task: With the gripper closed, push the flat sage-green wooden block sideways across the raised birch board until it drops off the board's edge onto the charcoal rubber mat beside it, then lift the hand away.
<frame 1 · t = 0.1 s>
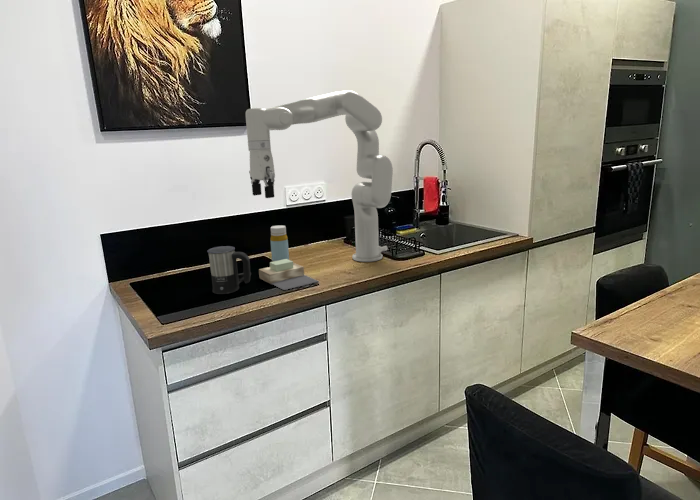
hand: (263, 196, 168), 31 cm above the countertop, tool pointing down, fingers open, 9 cm apart
milk frother: (232, 287, 172), on the countertop
rubber mat: (294, 283, 172), on the countertop
birch board: (281, 277, 180), on the countertop
bottle: (280, 262, 200), on the countertop
green block: (281, 265, 178), point 5 cm above the countertop, touching birch board
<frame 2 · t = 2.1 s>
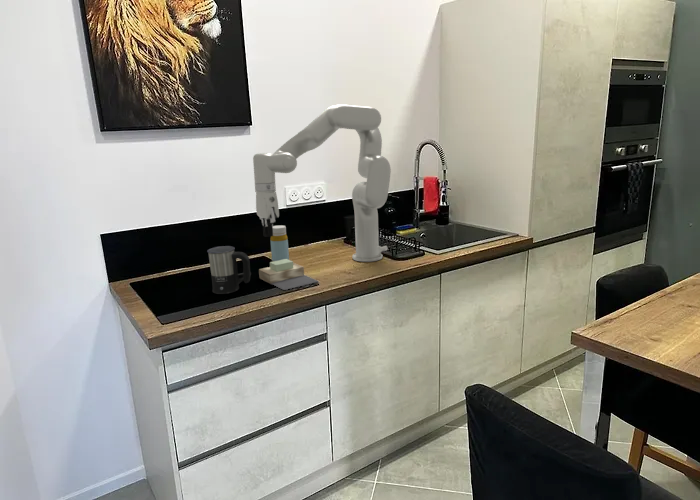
hand: (268, 236, 182), 15 cm above the countertop, tool pointing down, fingers closed
nothing on the countertop moved.
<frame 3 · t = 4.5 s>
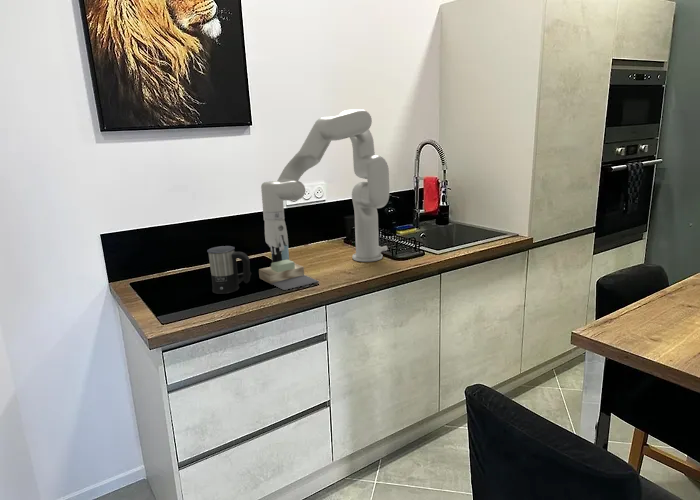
hand: (277, 263, 181), 5 cm above the countertop, tool pointing down, fingers closed
green block: (282, 265, 178), point 5 cm above the countertop, touching birch board, gripper
everything else where it was.
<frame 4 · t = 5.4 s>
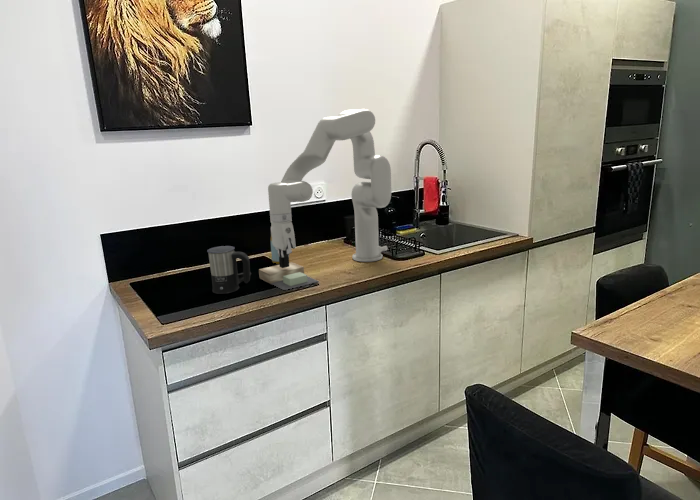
hand: (284, 266, 177), 5 cm above the countertop, tool pointing down, fingers closed
green block: (295, 278, 172), point 2 cm above the countertop, tilted 180°, touching rubber mat
everything else where it was.
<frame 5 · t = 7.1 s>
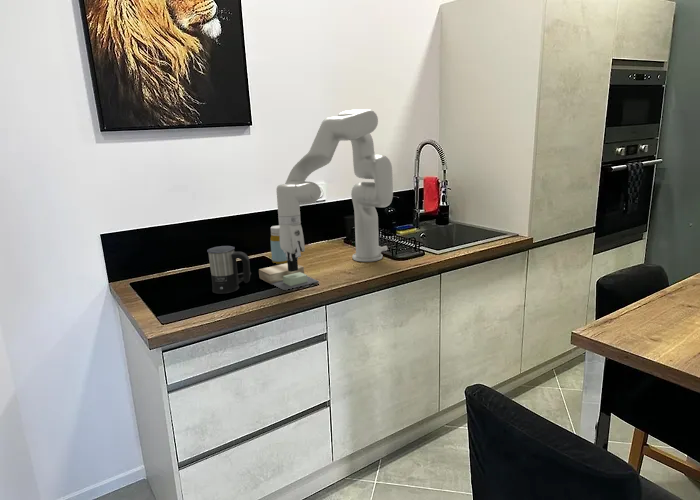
hand: (293, 270, 172), 5 cm above the countertop, tool pointing down, fingers closed
nothing on the countertop moved.
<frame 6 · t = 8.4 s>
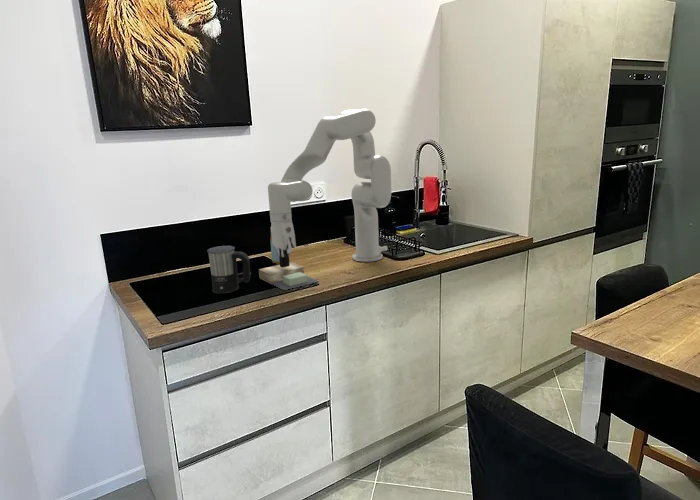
hand: (284, 266, 177), 5 cm above the countertop, tool pointing down, fingers closed
nothing on the countertop moved.
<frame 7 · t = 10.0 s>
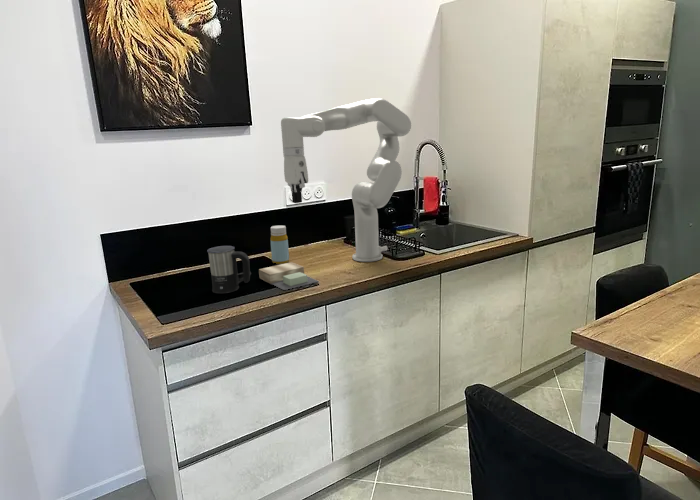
hand: (297, 202, 180), 27 cm above the countertop, tool pointing down, fingers closed
nothing on the countertop moved.
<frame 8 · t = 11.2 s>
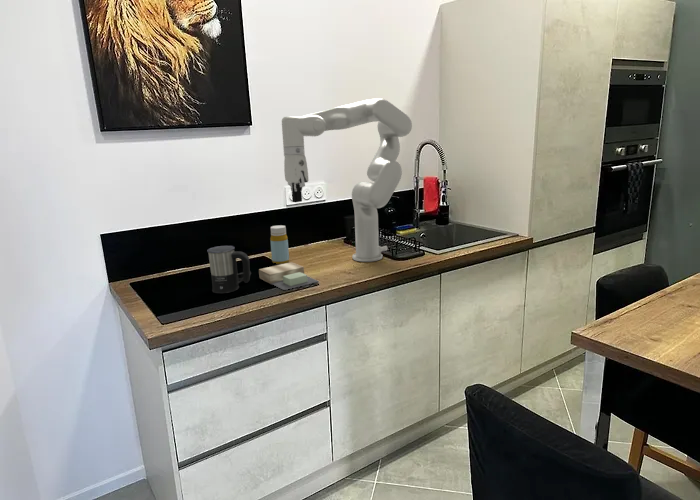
hand: (297, 201, 180), 27 cm above the countertop, tool pointing down, fingers closed
nothing on the countertop moved.
at the end: green block inside the target area (0.1 cm from its centre), point 1.6 cm above the countertop; green block touching rubber mat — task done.
